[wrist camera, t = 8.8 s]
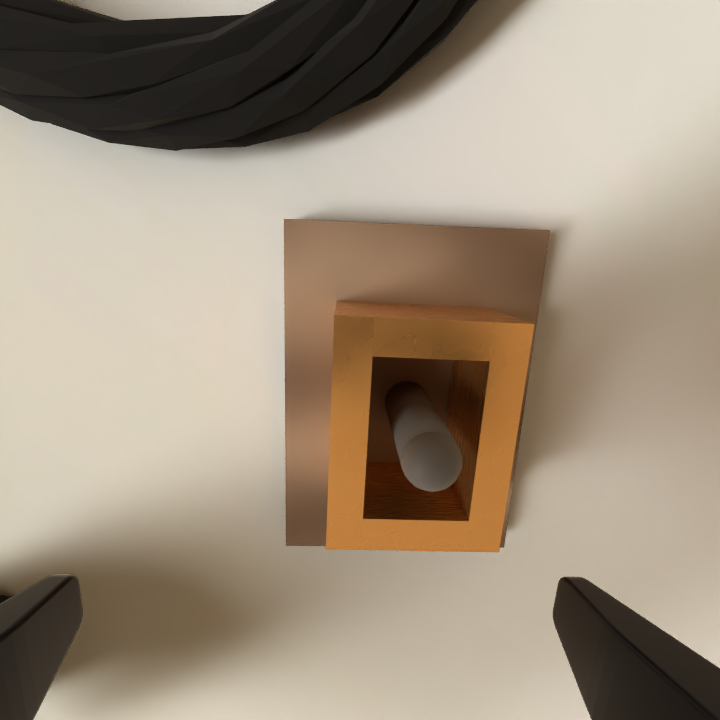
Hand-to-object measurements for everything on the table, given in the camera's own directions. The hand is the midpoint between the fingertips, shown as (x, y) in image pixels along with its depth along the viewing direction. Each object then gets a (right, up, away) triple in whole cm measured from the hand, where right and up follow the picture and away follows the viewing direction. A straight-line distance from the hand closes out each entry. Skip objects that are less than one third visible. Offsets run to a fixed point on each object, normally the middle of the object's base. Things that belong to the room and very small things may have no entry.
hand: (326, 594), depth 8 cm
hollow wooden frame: (+2, +3, +9) cm, 10 cm away
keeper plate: (+2, +3, +10) cm, 11 cm away
